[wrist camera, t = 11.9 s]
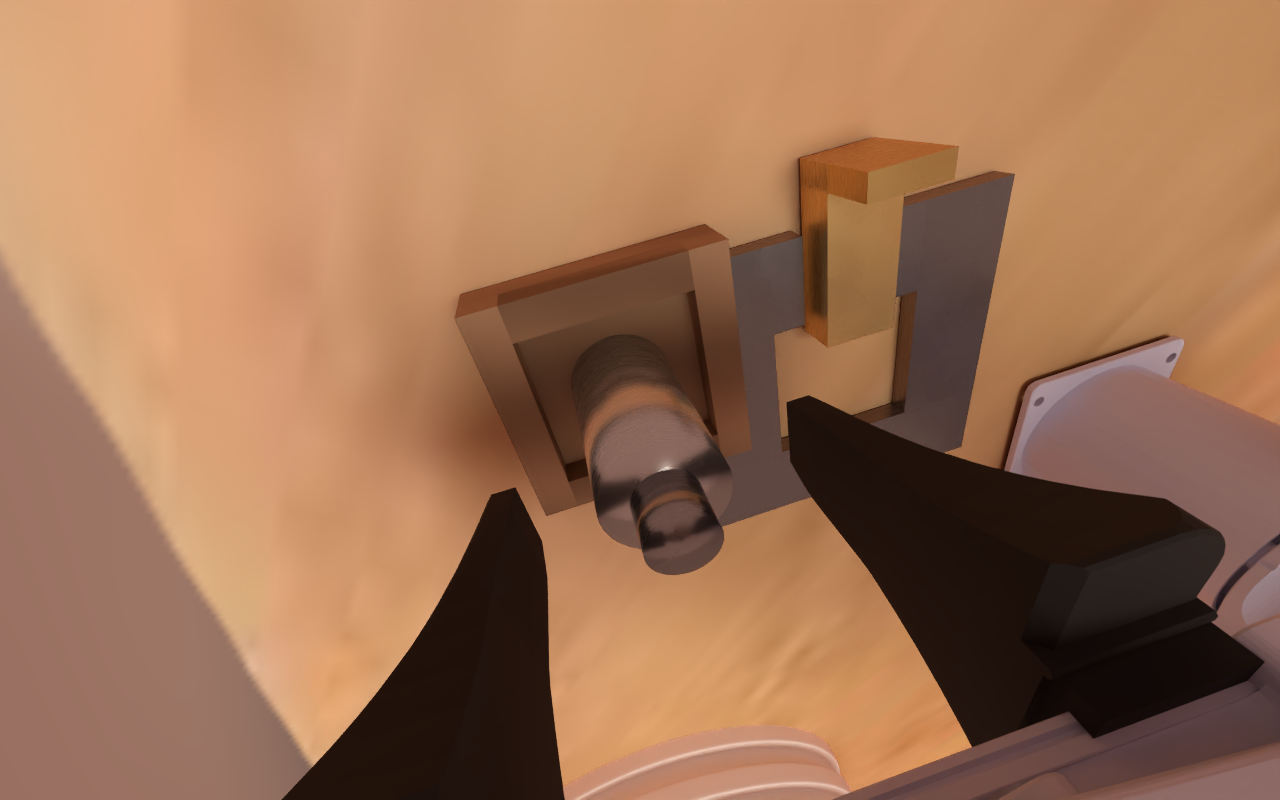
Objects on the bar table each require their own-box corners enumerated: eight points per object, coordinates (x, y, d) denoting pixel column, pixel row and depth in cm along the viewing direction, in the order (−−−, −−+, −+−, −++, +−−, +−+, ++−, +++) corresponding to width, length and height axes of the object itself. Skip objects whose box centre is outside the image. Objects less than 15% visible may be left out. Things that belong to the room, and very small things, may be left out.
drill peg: (678, 402, 18) (767, 566, 12) (590, 434, 18) (631, 616, 11) (655, 320, 16) (746, 461, 10) (556, 355, 16) (584, 521, 10)
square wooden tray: (732, 420, 20) (752, 449, 18) (543, 480, 20) (546, 515, 18) (705, 224, 16) (728, 239, 14) (460, 294, 15) (454, 318, 14)
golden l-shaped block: (865, 311, 19) (931, 350, 16) (804, 329, 19) (859, 372, 16) (873, 137, 15) (958, 146, 12) (799, 158, 15) (868, 172, 12)
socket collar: (948, 436, 24) (961, 446, 23) (713, 515, 23) (719, 527, 22) (995, 170, 17) (1014, 174, 16) (666, 267, 16) (672, 274, 16)
